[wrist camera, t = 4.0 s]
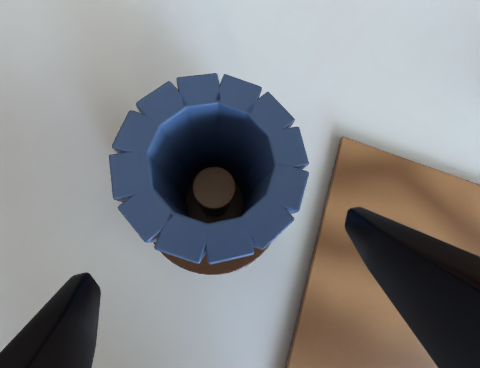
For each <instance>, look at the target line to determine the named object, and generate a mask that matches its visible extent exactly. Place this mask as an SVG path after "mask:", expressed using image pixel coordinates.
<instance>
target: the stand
mask: <svg viewBox="0 0 480 368" xmlns="http://www.w3.org/2000/svg"><path fill="white" fill-rule="evenodd" d="M186 204H187V210H188V214H189V216H190V217H191V218H193V219H196V220H199V221H202V222H205V223H212V222H217V221H222V220H227V219H232V218H237V217H239V216H240V213H241V209H242V206H243V198H242V193H241V189H240V188H239V187H238V185H237V184H236V183H235V181H234V178H233V177H232V175H231V174H230V173H229V172H228V171H227V170H225V169H223V168H220V167H208V168H205V169H203V170H202V171H200V172H199V173H198V174H197V175H196V177H195V179H194V181H193V184H192V185H191V186H190V189H189V191H188V194H187V197H186ZM153 243H154V244H155V243H156V242H153ZM270 244H271V243H270ZM270 244H269V245H270ZM269 245H268V246H267V247H265V248H264V249H263V250H262V249H258V248H255V247H254V254H253V255H250V256H246V257H241V258H237V259H232V260H228V261H223V262H219V263H214V264H209V263H208V261H207V255H206V254H205V256H204V257H203V259H202V260H201V262H200V263H199V264H197V263H194V262H191V261H188V260H185V259H182V258H179V257H176V256H173V255H170V254H167V253H164V252H161V251H160V252H161V253H162V254H163V255H164V256H165V257H166V258H167V259H169V260H170V261H171V262H172V263H174V264H176V265H178V266H179V267H181V268H183V269H186V270H188V271H191V272H195V273H199V274H207V275H218V274H225V273H230V272H233V271H236V270H239V269H241V268H243V267H245V266H247V265H249V264H250V263H252V262H253V261H255V260H256V259H257V258H258V257H259V256H261V255H262V254H263V253H264V251H265V250H266V249H267V248H268V247H269Z"/></svg>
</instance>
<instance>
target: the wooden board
mask: <svg viewBox="0 0 480 368" xmlns="http://www.w3.org/2000/svg"><path fill="white" fill-rule="evenodd" d="M358 206H360V207H363V208H365V209H368V210H370V211H372V212H375V213H377V214H380V215H382V216H384V217H387V218H389V219H392V220H394V221H396V222H399V223H401V224H403V225H406V226H408V227H411V228H413V229H415V230H418V231H420V232H423V233H425V234H427V235H430V236H432V237H435V238H437V239H439V240H442V241H444V242H447V243H449V244H451V245H454V246H456V247H458V248H461V249H463V250H466V251H468V252H470V253H473V254H475V255H478V256H480V185H478V184H475V183H472V182H469V181H467V180H464V179H461V178H458V177H455V176H453V175H450V174H447V173H444V172H441V171H438V170H436V169H433V168H430V167H427V166H424V165H421V164H419V163H416V162H413V161H410V160H407V159H405V158H402V157H399V156H396V155H393V154H390V153H388V152H385V151H382V150H379V149H376V148H374V147H371V146H368V145H365V144H362V143H359V142H357V141H354V140H351V139H348V138H345V137H342V138H341V141H340V145H339V149H338V153H337V158H336V162H335V166H334V170H333V174H332V178H331V182H330V187H329V191H328V195H327V199H326V203H325V207H324V211H323V216H322V220H321V224H320V228H319V232H318V236H317V240H316V244H315V249H314V253H313V257H312V261H311V265H310V269H309V273H308V278H307V282H306V286H305V290H304V294H303V298H302V302H301V306H300V311H299V315H298V319H297V323H296V327H295V331H294V335H293V340H292V344H291V348H290V352H289V356H288V360H287V364H286V368H438V367H437V366H436V364H435V363H434V361H433V360H432V359H431V357H430V356H429V354H428V353H427V352H426V350H425V349H424V347H423V346H422V345H421V343H420V342H419V340H418V339H417V338H416V336H415V335H414V333H413V332H412V330H411V329H410V328H409V326H408V325H407V323H406V322H405V321H404V319H403V318H402V316H401V315H400V314H399V312H398V311H397V309H396V308H395V307H394V305H393V304H392V302H391V301H390V300H389V298H388V297H387V295H386V294H385V292H384V291H383V290H382V288H381V287H380V285H379V284H378V283H377V281H376V280H375V278H374V277H373V276H372V274H371V273H370V271H369V270H368V268H367V267H366V265H365V264H364V262H363V260H362V259H361V257H360V255H359V253H358V252H357V250H356V248H355V246H354V244H353V243H352V241H351V239H350V237H349V236H348V234H347V232H346V230H345V220H346V215H347V211H348V209H350V208H353V207H358Z"/></svg>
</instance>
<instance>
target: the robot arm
mask: <svg viewBox="0 0 480 368" xmlns="http://www.w3.org/2000/svg"><path fill="white" fill-rule="evenodd" d="M345 230H346V232H347V234H348V236H349V237H350V239H351V241H352V243H353V244H354V246H355V248H356V250H357V252H358V253H359V255H360V257H361V259H362V260H363V262H364V264H365V265H366V267H367V268H368V270H369V271H370V273H371V274H372V276H373V277H374V278H375V280H376V281H377V283H378V284H379V285H380V287H381V288H382V290H383V291H384V292H385V294H386V295H387V297H388V298H389V300H390V301H391V302H392V304H393V305H394V307H395V308H396V309H397V311H398V312H399V314H400V315H401V316H402V318H403V319H404V321H405V322H406V323H407V325H408V326H409V328H410V329H411V330H412V332H413V333H414V335H415V336H416V338H417V339H418V340H419V342H420V343H421V345H422V346H423V347H424V349H425V350H426V352H427V353H428V354H429V356H430V357H431V359H432V360H433V361H434V363H435V364H436V366H437V367H438V368H480V256H478V255H475V254H473V253H470V252H468V251H466V250H463V249H461V248H458V247H456V246H454V245H451V244H449V243H447V242H444V241H442V240H439V239H437V238H435V237H432V236H430V235H427V234H425V233H423V232H420V231H418V230H415V229H413V228H411V227H408V226H406V225H403V224H401V223H399V222H396V221H394V220H392V219H389V218H387V217H384V216H382V215H380V214H377V213H375V212H372V211H370V210H368V209H365V208H363V207H360V206H358V207H353V208H350V209H348V211H347V215H346V220H345ZM100 296H101V291H100V287H99V286H98V284H97V283H96V282H95V280H94V279H93V277H92V276H91V275H90V274H89V273H81V274H77V275H74V276H72V277H71V278H70V279H69V280H68V281H67V282H66V283H65V284H64V285H63V286H62V287H61V288H60V290H59V291H58V292H57V293H56V294H55V295H54V296H53V297H52V298H51V299H50V300H49V301H48V302H47V303H46V304H45V306H44V307H43V308H42V309H41V310H40V311H39V312H38V313H37V314H36V315H35V316H34V317H33V318H32V319H31V320H30V322H29V323H28V324H27V325H26V326H25V327H24V328H23V329H22V330H21V331H20V332H19V333H18V334H17V335H16V336H15V338H14V339H13V340H12V341H11V342H10V343H9V344H8V345H7V346H6V347H5V348H4V349H3V350H2V351H1V352H0V368H91V367H92V362H93V357H94V352H95V346H96V339H97V330H98V318H99V307H100Z"/></svg>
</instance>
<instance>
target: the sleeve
mask: <svg viewBox="0 0 480 368" xmlns="http://www.w3.org/2000/svg"><path fill="white" fill-rule="evenodd" d="M177 86H178V90H177V88H176V87H175V86H174V85H173V84H172V83H171V82H170V81H168V82H166V83H165V84H163V85H162V86H160V87H159V88H157V89H156V90H154V91H153V92H151V93H150V94H148V95H147V96H145V97H144V98H142V99H141V100H139V101H138V102H137V103H136V106H137V108H138V109H139V111H140V113H138V112H135V111H129V112H128V114H127V116H126V118H125V120H124V122H123V124H122V126H121V128H120V130H119V132H118V134H117V136H116V138H115V140H114V142H113V144H112V148H113V149H114V150H115V151H117V152H118V153H119V154H112V155H109V163H110V173H111V183H112V193H113V199H114V200H117V201H120V202H123V203H122V204H121V205H119V207H118V209H119V211H120V212H121V213H122V214H123V216H124V217H125V218H126V219H127V221H128V222H129V223H130V224H131V226H132V227H133V228H134V229H135V231H136V232H137V233H138V234H139V235H140V237H141V238H142V239H143V240H144V242H146V243H150V242H156V243H155V246H154V248H155V249H156V250H158V251H161V252H164V253H167V254H170V255H173V256H176V257H179V258H182V259H185V260H188V261H191V262H194V263H197V264H199V263H200V262H201V260H202V259H203V257H204V256H205V254H206V255H207V261H208V263H209V264H214V263H219V262H223V261H228V260H232V259H237V258H241V257H246V256H250V255H253V254H254V247H255V248H258V249H262V250H263V249H264V248H265V247H267V246H268V245H269V244H270V243H271V242H272V241H273V240H274V239H275V238H276V237H277V236H278V235H279V234H280V233H281V232H282V231H283V230H284V229H285V228H286V227H287V226H288V225H289V224H290V223H292V222H293V221H294V218H293V217H292V215H291V214H293V213H296V212H298V211H299V209H300V205H301V202H302V198H303V194H304V190H305V187H306V183H307V179H308V176H309V172H307V171H304V170H302V169H303V168H305V167H306V166H307V165H308V164H309V162H308V159H307V155H306V151H305V148H304V144H303V140H302V137H301V133H300V129H299V127H292V128H290V127H291V125H292V124H293V122H294V121H295V119H294V118H293V117H292V116H291V115H290V114H289V113H288V112H287V111H286V110H285V108H284V107H283V106H282V105H281V104H280V103H279V102H278V101H277V100H276V99H275V98H274V97H273V96H272V95H271V94H270V93H269V92H267V93H265V94H264V95H263V96H261V97H260V98H259V96H260V93H261V90H262V87H260V86H257V85H254V84H252V83H249V82H246V81H243V80H240V79H237V78H235V77H232V76H229V75H226V74H224V76H223V78H222V80H221V83H220V85H219V80H218V75H217V73H213V74H204V75H195V76H187V77H178V78H177ZM208 167H220V168H223V169H225V170H227V171H228V172H229V173H230V174H231V175H232V177H233V178H234V181H235V183H236V184H237V185H238V187H239V188H240V189H241V193H242V198H243V206H242V209H241V213H240V216H239V217H237V218H232V219H227V220H222V221H217V222H212V223H205V222H202V221H199V220H196V219H193V218H191V217H190V216H189V214H188V210H187V204H186V197H187V194H188V191H189V189H190V186H191V185H192V184H193V181H194V179H195V177H196V175H197V174H198V173H199V172H200V171H202V170H203V169H205V168H208Z"/></svg>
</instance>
